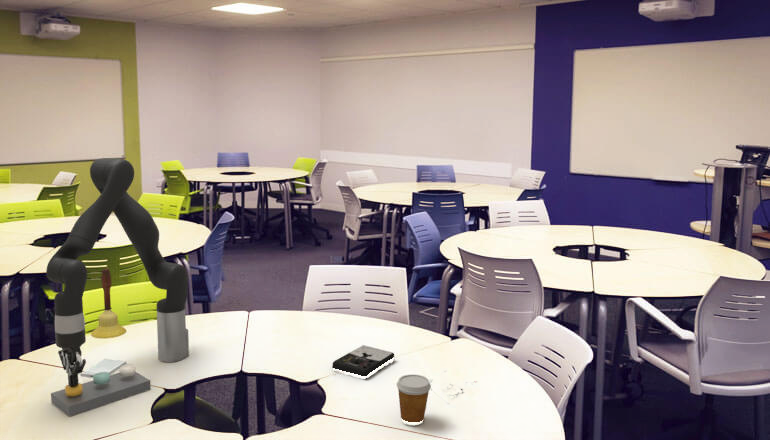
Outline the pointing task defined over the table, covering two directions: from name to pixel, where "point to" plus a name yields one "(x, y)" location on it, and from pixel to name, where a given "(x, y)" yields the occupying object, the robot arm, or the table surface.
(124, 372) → the offwhite button
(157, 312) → the robot arm
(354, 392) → the table surface
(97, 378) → the teal button
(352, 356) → the black and grey book
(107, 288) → the handbell
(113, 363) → the hard drive
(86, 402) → the console
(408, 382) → the disposable coffee cup
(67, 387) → the amber button
